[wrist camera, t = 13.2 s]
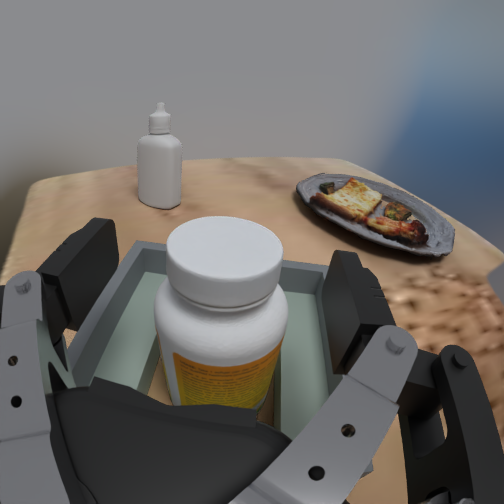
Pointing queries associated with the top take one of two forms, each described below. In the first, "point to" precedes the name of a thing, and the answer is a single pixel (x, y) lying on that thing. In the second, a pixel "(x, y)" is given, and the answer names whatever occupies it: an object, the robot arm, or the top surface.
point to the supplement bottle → (221, 312)
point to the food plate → (378, 213)
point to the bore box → (147, 347)
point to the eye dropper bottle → (159, 163)
